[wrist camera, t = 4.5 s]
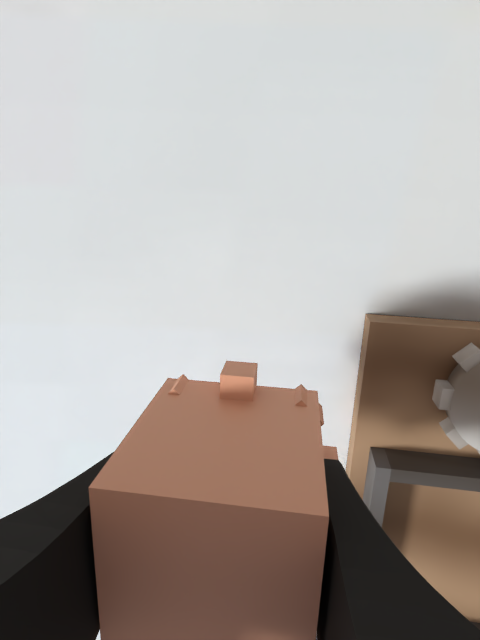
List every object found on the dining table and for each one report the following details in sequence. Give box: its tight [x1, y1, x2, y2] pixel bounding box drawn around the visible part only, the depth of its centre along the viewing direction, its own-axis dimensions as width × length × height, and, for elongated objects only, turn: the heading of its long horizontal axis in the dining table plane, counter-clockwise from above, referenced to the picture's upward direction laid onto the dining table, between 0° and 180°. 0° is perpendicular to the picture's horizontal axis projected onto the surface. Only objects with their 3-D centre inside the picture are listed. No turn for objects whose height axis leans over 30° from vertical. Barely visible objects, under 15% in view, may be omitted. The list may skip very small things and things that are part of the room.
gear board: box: [346, 314, 480, 630], centre depth 19 cm, size 21×11×3 cm, turn 178°
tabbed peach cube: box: [89, 361, 338, 640], centre depth 11 cm, size 6×6×5 cm
